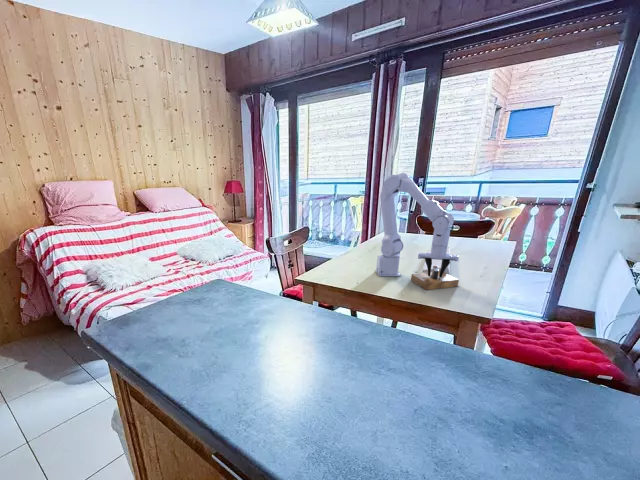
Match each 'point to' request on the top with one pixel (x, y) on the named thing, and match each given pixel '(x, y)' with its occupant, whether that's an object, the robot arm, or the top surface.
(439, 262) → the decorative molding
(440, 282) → the panel
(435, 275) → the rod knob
